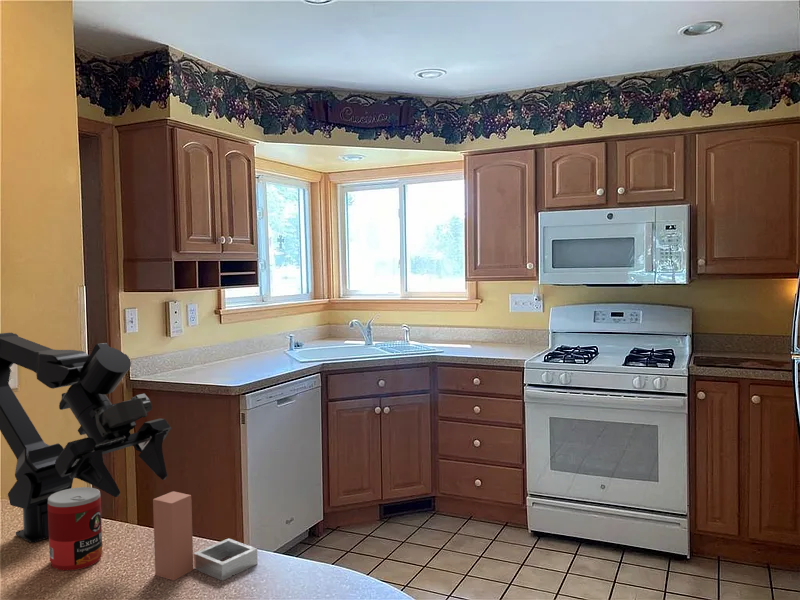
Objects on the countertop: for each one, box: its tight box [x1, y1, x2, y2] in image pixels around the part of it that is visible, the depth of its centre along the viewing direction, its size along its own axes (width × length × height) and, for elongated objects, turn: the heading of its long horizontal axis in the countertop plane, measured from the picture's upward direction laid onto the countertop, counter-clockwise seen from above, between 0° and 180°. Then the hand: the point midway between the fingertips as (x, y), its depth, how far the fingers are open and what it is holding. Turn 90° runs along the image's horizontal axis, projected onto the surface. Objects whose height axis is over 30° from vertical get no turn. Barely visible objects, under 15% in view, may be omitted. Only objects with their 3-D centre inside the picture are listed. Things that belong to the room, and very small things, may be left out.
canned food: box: [48, 486, 103, 571], centre depth 107 cm, size 8×8×11 cm
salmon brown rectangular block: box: [152, 490, 194, 581], centre depth 103 cm, size 4×4×12 cm
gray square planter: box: [193, 538, 258, 581], centre depth 105 cm, size 7×7×2 cm
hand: (142, 486), depth 105 cm, fingers open, 9 cm apart
